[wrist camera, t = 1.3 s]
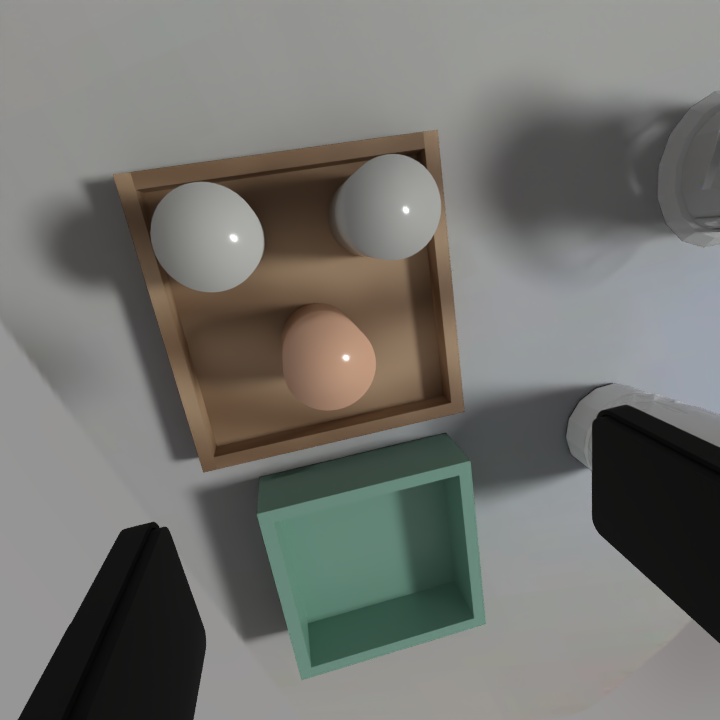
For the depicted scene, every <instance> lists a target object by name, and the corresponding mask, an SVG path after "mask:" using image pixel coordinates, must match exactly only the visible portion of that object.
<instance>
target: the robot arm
mask: <svg viewBox="0 0 720 720" xmlns="http://www.w3.org/2000/svg"><path fill="white" fill-rule="evenodd" d="M592 520H593V523H594V526H595V528H596V530H597V531H598V533H599V534H600V535H601V536H602V537H603V538H604V539H606V540H607V541H608V542H609V543H610V544H611V545H612V546H613V547H614V548H615V549H617V550H618V551H619V552H620V553H621V554H622V555H623V556H624V557H625V558H626V559H628V560H629V561H630V562H631V563H632V564H633V565H634V566H635V567H636V568H637V569H639V570H640V571H641V572H642V573H643V574H644V575H645V576H646V577H647V578H648V579H650V580H651V581H652V582H653V583H654V584H655V585H656V586H657V587H658V588H659V589H661V590H662V591H663V592H664V593H665V594H666V595H667V596H668V597H669V598H670V599H671V600H673V601H674V602H675V603H676V604H677V605H678V606H679V607H680V608H681V609H682V610H684V611H685V612H686V613H687V614H688V615H689V616H690V617H691V618H692V619H693V620H695V621H696V622H697V623H698V624H699V625H700V626H701V627H702V628H703V629H705V630H706V631H707V632H708V633H709V634H710V635H711V636H712V637H713V638H714V639H716V640H717V641H718V642H719V643H720V447H718V446H716V445H714V444H712V443H709V442H707V441H705V440H703V439H701V438H699V437H697V436H694V435H692V434H690V433H688V432H686V431H684V430H682V429H679V428H677V427H675V426H673V425H671V424H669V423H667V422H664V421H662V420H660V419H658V418H656V417H654V416H652V415H649V414H647V413H645V412H643V411H641V410H639V409H637V408H634V407H632V406H629V405H621V406H617V407H613V408H609V409H605V410H601V411H600V412H599V413H598V415H597V418H596V419H594V420H593V422H592ZM205 650H206V635H205V630H204V626H203V623H202V621H201V618H200V615H199V612H198V609H197V606H196V604H195V601H194V598H193V595H192V592H191V590H190V587H189V584H188V581H187V579H186V576H185V573H184V570H183V567H182V564H181V562H180V559H179V556H178V553H177V550H176V547H175V545H174V542H173V539H172V536H171V533H170V531H169V529H168V528H167V527H162V528H159V526H158V525H157V523H155V522H151V523H147V524H143V525H139V526H135V527H131V528H127V529H124V530H122V531H121V532H120V534H119V535H118V538H117V539H116V541H115V543H114V545H113V547H112V549H111V550H110V552H109V554H108V556H107V558H106V560H105V561H104V563H103V565H102V567H101V569H100V571H99V573H98V575H97V576H96V578H95V580H94V582H93V584H92V586H91V587H90V589H89V591H88V593H87V595H86V597H85V598H84V601H83V602H82V604H81V606H80V608H79V610H78V612H77V613H76V615H75V617H74V619H73V621H72V622H71V624H70V625H69V627H68V628H67V630H66V632H65V634H64V636H63V637H62V639H61V641H60V643H59V645H58V647H57V649H56V650H55V652H54V654H53V656H52V658H51V660H50V662H49V663H48V665H47V667H46V669H45V671H44V673H43V674H42V676H41V678H40V680H39V682H38V684H37V685H36V687H35V689H34V691H33V693H32V695H31V697H30V698H29V700H28V702H27V704H26V706H25V708H24V710H23V711H22V713H21V715H20V717H19V719H18V720H193V719H194V713H195V707H196V702H197V696H198V690H199V685H200V679H201V673H202V667H203V662H204V656H205Z"/></svg>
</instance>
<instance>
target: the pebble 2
mask: <svg viewBox="0 0 720 720" xmlns="http://www.w3.org/2000/svg"><path fill="white" fill-rule="evenodd" d="M440 215H441V199H440V193H439V190H438V187H437V184H436V182H435V180H434V178H433V177H432V175H431V174H430V173H429V171H428V170H427V169H426V168H425V167H424V166H423V165H422V164H420V163H419V162H418V161H416V160H414V159H412V158H410V157H407V156H404V155H400V154H386V155H382V156H378V157H376V158H373V159H371V160H370V161H368V162H367V163H365V164H364V165H363V166H361V167H360V168H359V169H358V170H357V171H356V172H355V173H354V174H352V175H351V176H350V177H349V178H348V179H347V180H346V181H345V182H344V183H342V184H341V185H340V186H339V187H338V189H337V190H336V191H335V193H334V194H333V196H332V198H331V201H330V204H329V209H328V223H329V227H330V230H331V233H332V235H333V237H334V238H335V240H336V241H337V243H338V244H339V245H340V246H341V247H342V248H344V249H345V250H347V251H348V252H350V253H352V254H355V255H359V256H365V257H371V258H378V259H384V260H400V259H404V258H407V257H410V256H412V255H414V254H416V253H417V252H419V251H420V250H421V249H423V248H424V247H425V246H426V245H427V244H428V242H429V241H430V240H431V238H432V237H433V235H434V233H435V231H436V229H437V227H438V224H439V220H440Z"/></svg>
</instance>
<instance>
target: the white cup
mask: <svg viewBox="0 0 720 720" xmlns="http://www.w3.org/2000/svg"><path fill="white" fill-rule="evenodd" d="M621 405H629V406H632V407H634V408H637V409H639V410H641V411H643V412H645V413H647V414H649V415H652V416H654V417H656V418H658V419H660V420H662V421H664V422H667V423H669V424H671V425H673V426H675V427H677V428H679V429H682V430H684V431H686V432H688V433H690V434H692V435H694V436H697V437H699V438H701V439H703V440H705V441H707V442H709V443H712V444H714V445H716V446H718V447H720V414H717V413H714V412H711V411H708V410H705V409H702V408H699V407H695V406H691V405H689V404H686V403H683V402H680V401H677V400H673V399H670V398H667V397H664V396H661V395H658V394H650V393H648V392H645V391H642V390H639V389H636V388H634V387H630V386H625V385H620V384H616V383H614V384H610V385H607V386H603V387H600V388H596V389H595V390H593V391H592V392H591V393H590V394H588V395H587V396H586V397H584V398H583V399H582V400H581V401H580V402H579V403H578V405H577V406H576V408H575V410H574V411H573V413H572V415H571V416H570V418H569V422H568V428H567V434H566V439H567V443H568V446H569V449H570V452H571V454H572V455H573V456H574V457H575V458H576V459H577V460H579V461H580V462H581V463H582V464H583V465H585V466H586V467H587V468H588V469H590V470H591V471H592V422H593V420H594V419H596V418H597V415H598V413H599V412H600V411H601V410H605V409H609V408H613V407H617V406H621Z"/></svg>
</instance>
